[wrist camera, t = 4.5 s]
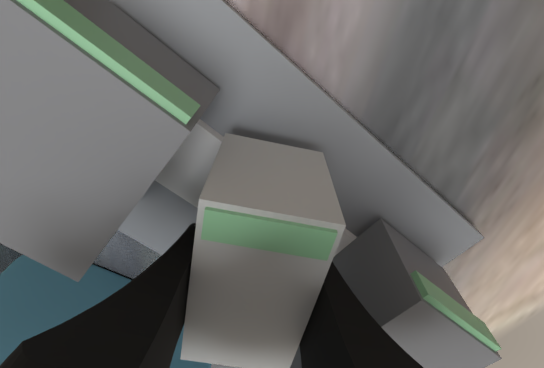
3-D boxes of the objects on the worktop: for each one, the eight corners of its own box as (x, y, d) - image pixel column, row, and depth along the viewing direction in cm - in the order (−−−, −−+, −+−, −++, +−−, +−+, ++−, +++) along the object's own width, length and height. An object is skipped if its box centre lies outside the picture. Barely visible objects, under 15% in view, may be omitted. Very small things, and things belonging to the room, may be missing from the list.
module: (323, 152, 13) (347, 228, 9) (284, 276, 16) (287, 378, 12) (225, 132, 13) (197, 201, 8) (206, 263, 16) (179, 363, 12)
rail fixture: (474, 226, 18) (570, 332, 12) (321, 334, 22) (337, 450, 16) (154, -64, 12) (35, -135, 6) (34, 165, 16) (-101, 252, 10)
